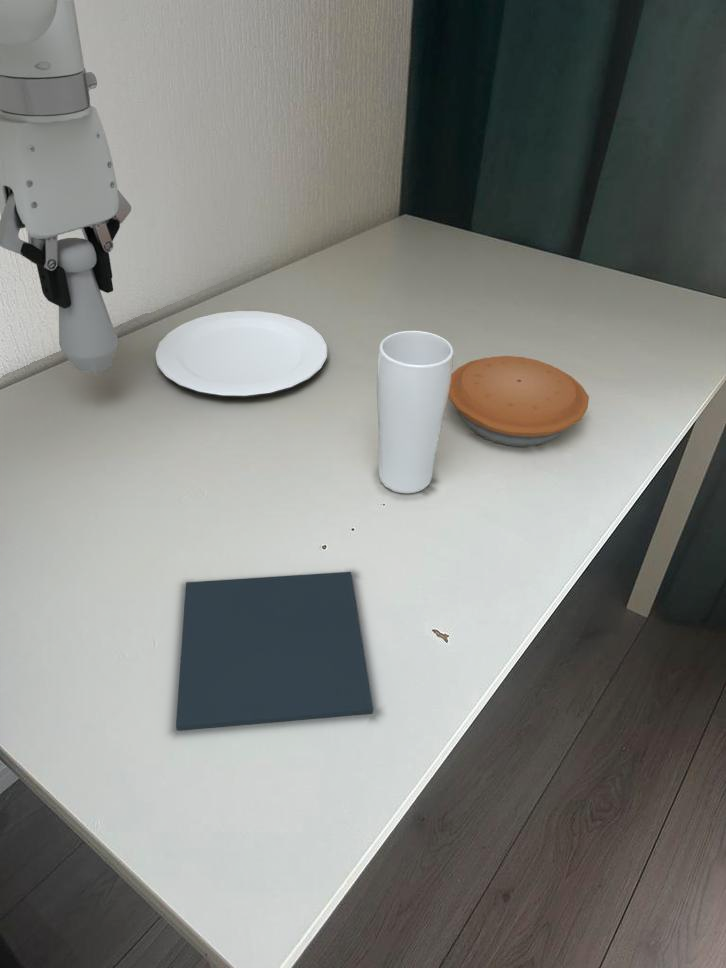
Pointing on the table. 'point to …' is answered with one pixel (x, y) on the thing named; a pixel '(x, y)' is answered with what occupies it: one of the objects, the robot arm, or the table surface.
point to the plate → (241, 354)
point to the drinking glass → (411, 406)
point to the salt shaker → (84, 310)
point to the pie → (516, 399)
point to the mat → (271, 651)
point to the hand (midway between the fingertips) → (80, 294)
